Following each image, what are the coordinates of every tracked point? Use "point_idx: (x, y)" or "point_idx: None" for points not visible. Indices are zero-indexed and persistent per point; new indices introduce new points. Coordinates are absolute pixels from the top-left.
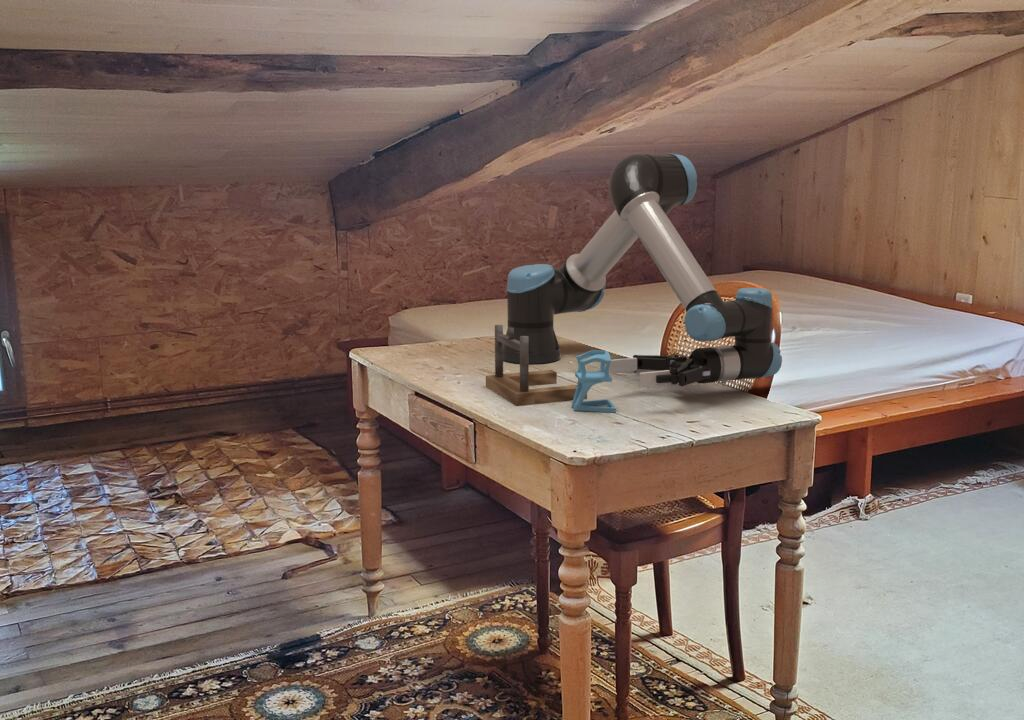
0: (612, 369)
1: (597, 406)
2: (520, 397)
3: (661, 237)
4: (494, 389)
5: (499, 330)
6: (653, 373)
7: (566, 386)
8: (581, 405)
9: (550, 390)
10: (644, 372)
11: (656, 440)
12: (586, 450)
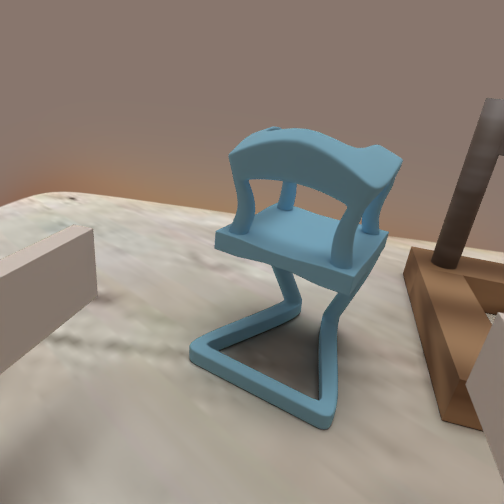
0: (480, 380)
1: (248, 323)
2: (410, 259)
3: None
4: None
5: None
6: (11, 262)
7: None
8: (285, 304)
9: (432, 291)
10: (69, 238)
11: None
12: (55, 203)
